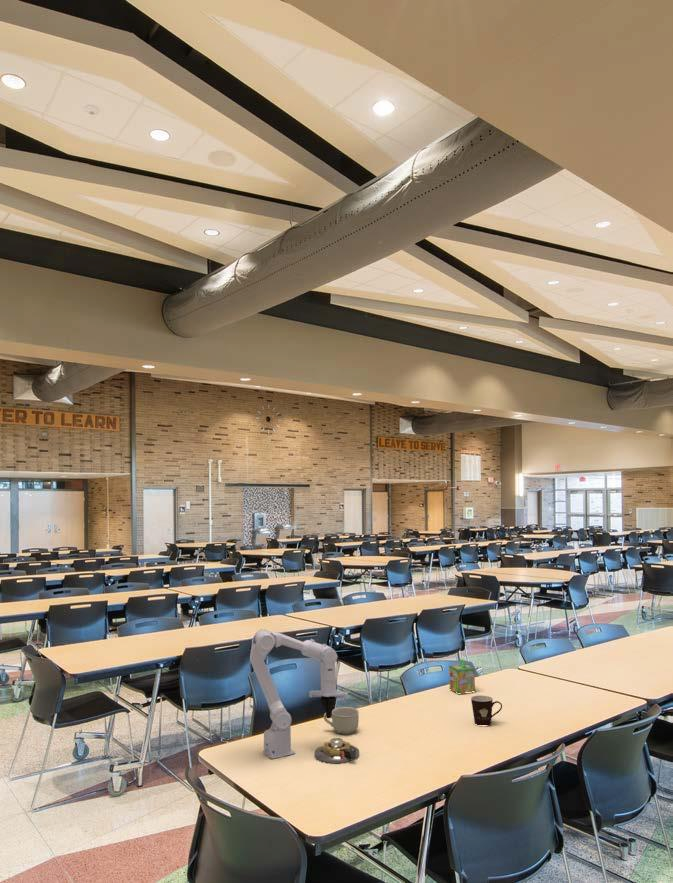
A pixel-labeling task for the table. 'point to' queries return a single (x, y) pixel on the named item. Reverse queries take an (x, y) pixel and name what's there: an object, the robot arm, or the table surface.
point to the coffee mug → (483, 709)
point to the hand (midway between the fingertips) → (329, 717)
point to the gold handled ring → (339, 750)
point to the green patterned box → (462, 678)
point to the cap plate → (334, 759)
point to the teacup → (344, 719)
